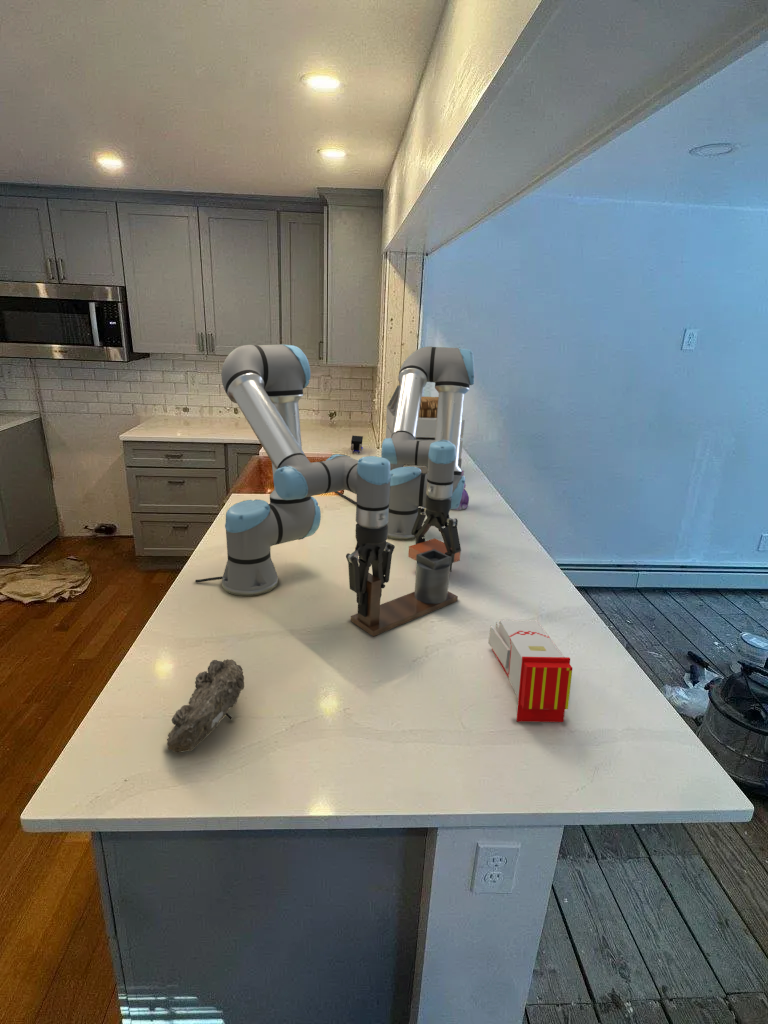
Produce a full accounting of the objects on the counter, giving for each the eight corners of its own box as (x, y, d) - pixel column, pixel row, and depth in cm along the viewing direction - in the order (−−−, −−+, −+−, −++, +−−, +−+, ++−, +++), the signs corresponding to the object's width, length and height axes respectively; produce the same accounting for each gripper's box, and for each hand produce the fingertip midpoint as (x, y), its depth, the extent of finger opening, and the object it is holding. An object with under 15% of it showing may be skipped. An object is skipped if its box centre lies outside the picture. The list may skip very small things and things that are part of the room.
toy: (535, 605, 135) (581, 664, 106) (530, 657, 138) (574, 728, 108) (484, 604, 135) (517, 662, 105) (480, 656, 137) (511, 727, 108)
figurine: (455, 512, 224) (459, 475, 218) (441, 504, 232) (444, 468, 227) (475, 509, 228) (478, 473, 223) (460, 501, 236) (463, 466, 231)
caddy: (373, 636, 137) (375, 586, 132) (350, 621, 143) (351, 572, 139) (457, 601, 156) (461, 556, 151) (434, 588, 162) (437, 545, 157)
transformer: (382, 463, 289) (386, 382, 275) (445, 464, 293) (451, 384, 279) (390, 482, 257) (394, 392, 243) (460, 483, 261) (468, 394, 247)
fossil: (192, 660, 117) (244, 628, 112) (224, 691, 120) (276, 661, 115) (142, 746, 98) (202, 712, 93) (182, 779, 101) (242, 748, 96)
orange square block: (433, 574, 163) (434, 558, 161) (407, 561, 171) (408, 546, 169) (459, 565, 170) (460, 549, 168) (433, 553, 178) (434, 538, 176)
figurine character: (362, 457, 305) (363, 447, 318) (362, 443, 301) (363, 434, 315) (350, 456, 304) (351, 447, 318) (350, 443, 301) (351, 434, 314)
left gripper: (354, 536, 124) (351, 629, 132) (408, 521, 134) (402, 608, 142) (334, 525, 130) (333, 615, 138) (387, 512, 140) (383, 597, 148)
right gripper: (401, 487, 169) (398, 555, 177) (460, 509, 153) (453, 583, 160) (420, 483, 174) (415, 549, 181) (478, 504, 157) (471, 576, 165)
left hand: (368, 612), depth 140 cm, fingers closed on caddy, 3 cm apart
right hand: (433, 565), depth 171 cm, fingers closed on orange square block, 11 cm apart
